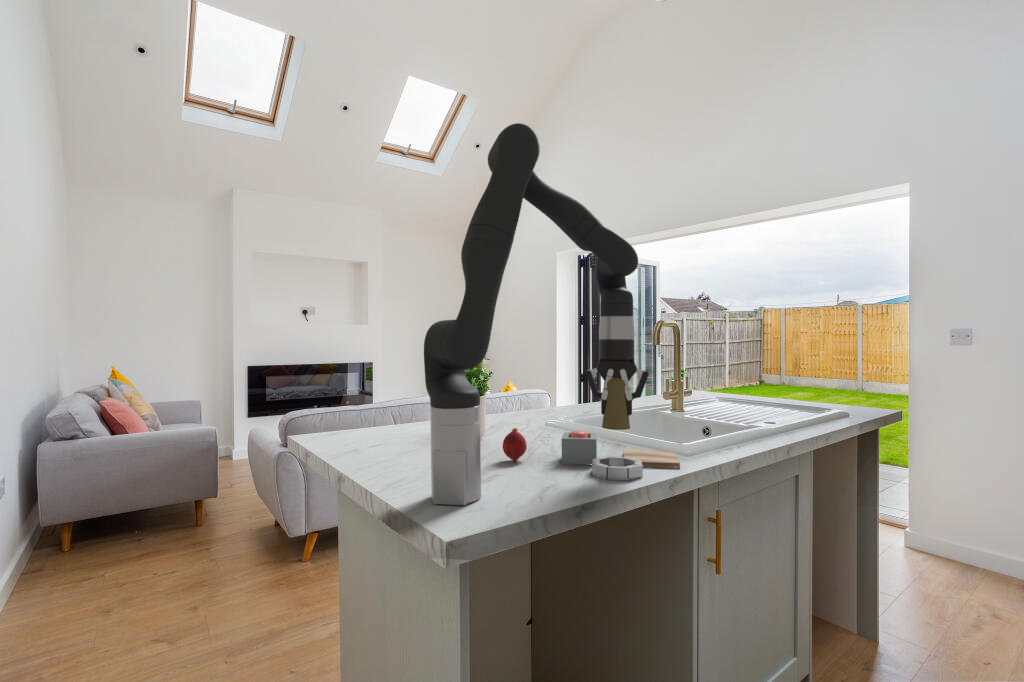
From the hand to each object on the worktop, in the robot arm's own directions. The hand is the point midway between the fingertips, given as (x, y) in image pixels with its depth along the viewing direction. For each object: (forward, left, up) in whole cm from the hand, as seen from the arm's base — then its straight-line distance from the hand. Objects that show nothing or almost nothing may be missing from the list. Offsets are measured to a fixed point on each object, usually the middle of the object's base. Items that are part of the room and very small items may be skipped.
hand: (616, 416), depth 109 cm
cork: (0, 0, -3) cm, 3 cm away
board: (+13, -8, -12) cm, 19 cm away
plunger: (+11, +9, -12) cm, 18 cm away
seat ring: (+1, 0, -12) cm, 12 cm away
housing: (+11, +9, -12) cm, 19 cm away
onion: (+9, +24, -13) cm, 28 cm away
